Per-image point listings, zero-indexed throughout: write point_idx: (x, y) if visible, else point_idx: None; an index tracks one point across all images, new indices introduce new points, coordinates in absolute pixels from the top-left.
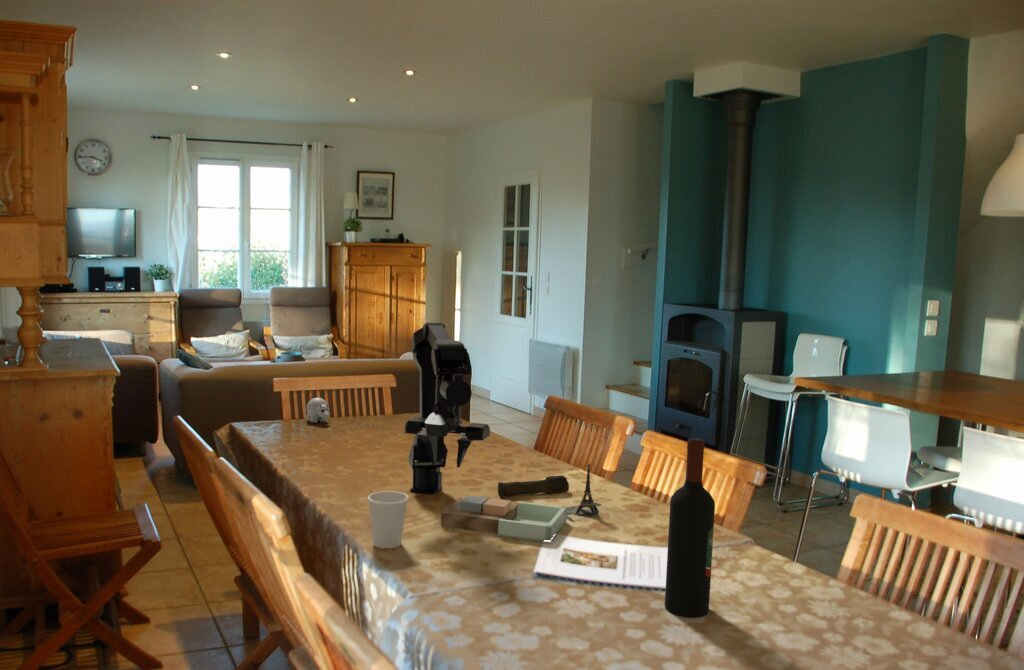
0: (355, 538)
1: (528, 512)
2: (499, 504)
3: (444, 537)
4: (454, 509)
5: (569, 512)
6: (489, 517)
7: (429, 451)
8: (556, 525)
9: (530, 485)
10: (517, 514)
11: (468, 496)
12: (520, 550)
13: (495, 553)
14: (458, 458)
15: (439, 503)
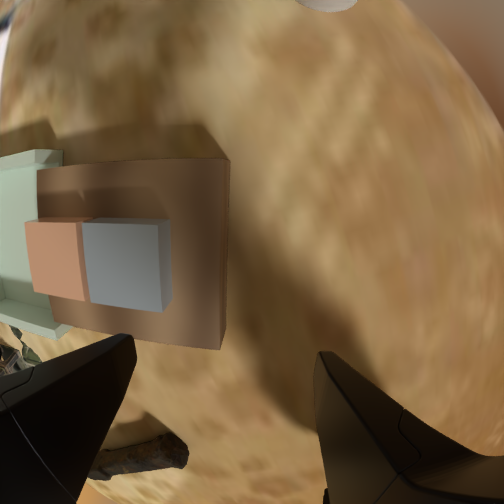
0: (411, 12)
1: (45, 314)
2: (39, 240)
3: (185, 69)
4: (189, 217)
5: (28, 361)
6: (65, 181)
7: (389, 407)
8: None
9: (121, 458)
10: None
11: (153, 301)
12: (20, 93)
13: (56, 47)
14: (80, 357)
15: (307, 370)
